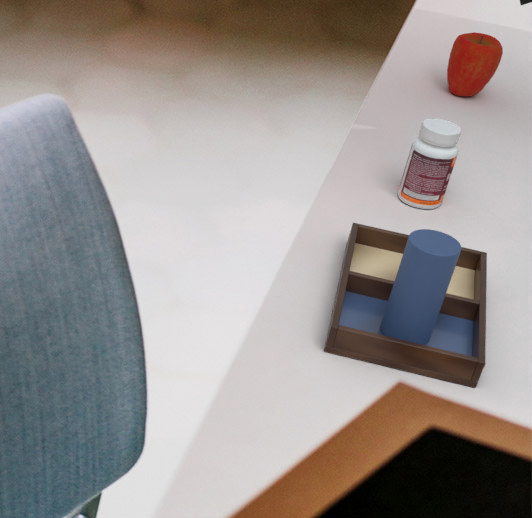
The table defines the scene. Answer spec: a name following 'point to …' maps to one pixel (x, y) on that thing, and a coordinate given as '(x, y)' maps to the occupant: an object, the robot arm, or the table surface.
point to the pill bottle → (430, 164)
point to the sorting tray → (375, 302)
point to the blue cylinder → (420, 285)
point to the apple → (472, 63)
